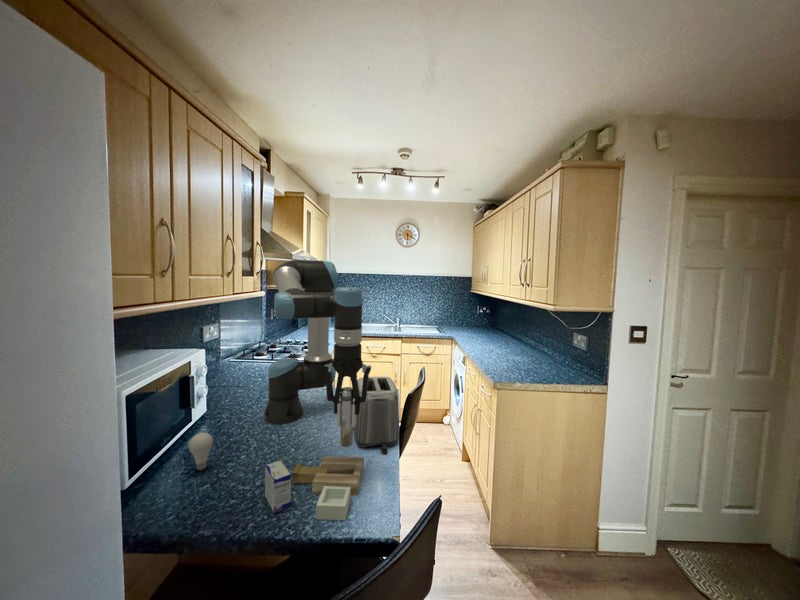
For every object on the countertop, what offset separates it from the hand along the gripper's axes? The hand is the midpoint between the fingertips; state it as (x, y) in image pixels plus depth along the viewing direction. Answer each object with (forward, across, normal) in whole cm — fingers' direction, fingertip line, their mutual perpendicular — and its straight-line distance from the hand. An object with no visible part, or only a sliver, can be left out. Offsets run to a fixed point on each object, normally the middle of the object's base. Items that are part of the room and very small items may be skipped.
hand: (346, 424), depth 88 cm
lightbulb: (+17, -44, +2) cm, 47 cm away
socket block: (+16, -2, -1) cm, 16 cm away
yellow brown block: (+16, -10, -1) cm, 19 cm away
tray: (+16, -1, -12) cm, 20 cm away
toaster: (+17, +6, +27) cm, 32 cm away
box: (+17, -16, -10) cm, 25 cm away
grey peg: (+6, 0, 0) cm, 6 cm away
